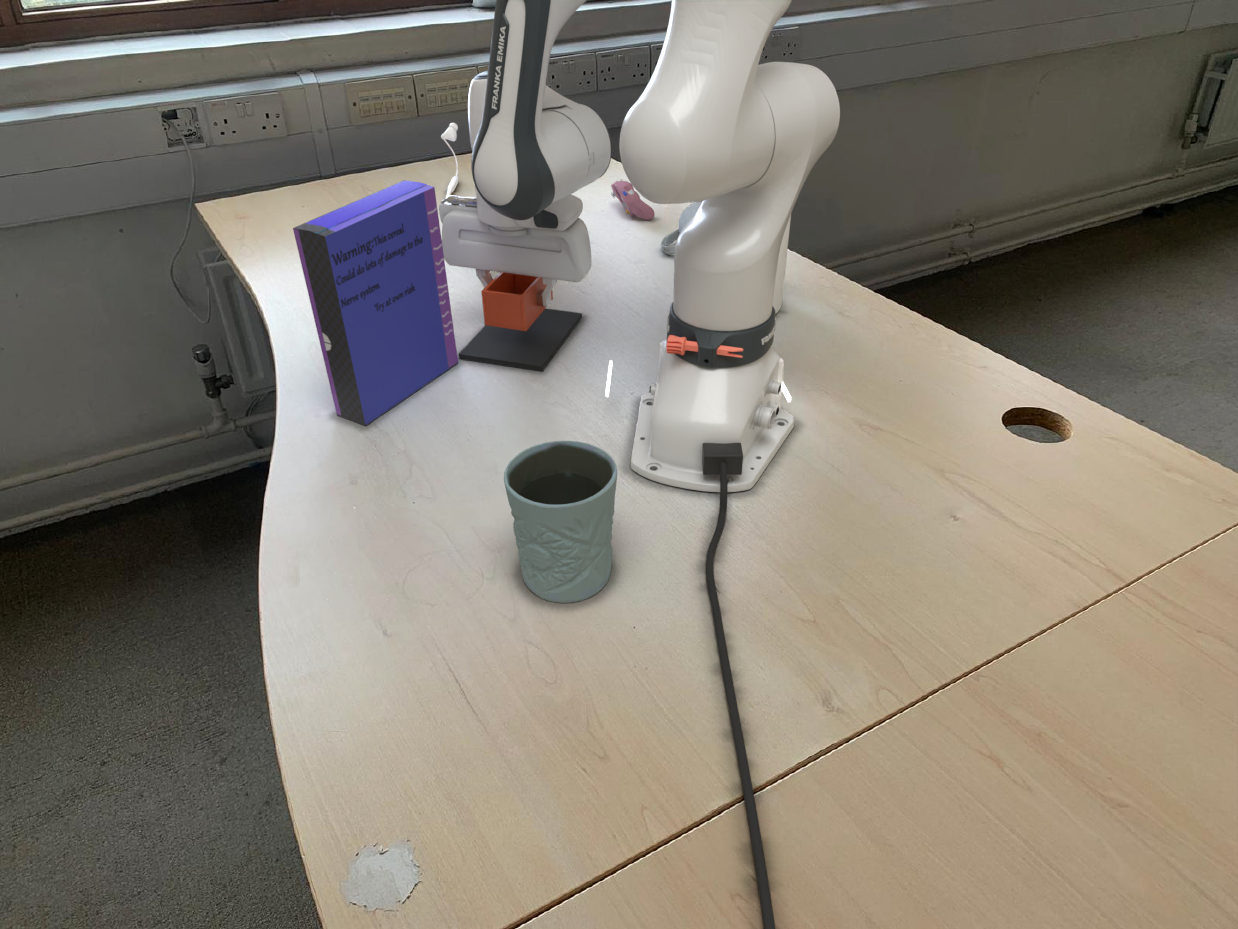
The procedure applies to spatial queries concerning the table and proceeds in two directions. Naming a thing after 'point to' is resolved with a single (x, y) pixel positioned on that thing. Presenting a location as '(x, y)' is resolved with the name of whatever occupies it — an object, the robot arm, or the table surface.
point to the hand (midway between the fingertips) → (519, 301)
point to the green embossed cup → (563, 518)
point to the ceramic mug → (683, 220)
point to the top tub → (512, 301)
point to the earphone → (452, 136)
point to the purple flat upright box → (379, 298)
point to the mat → (523, 341)
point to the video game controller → (631, 200)
